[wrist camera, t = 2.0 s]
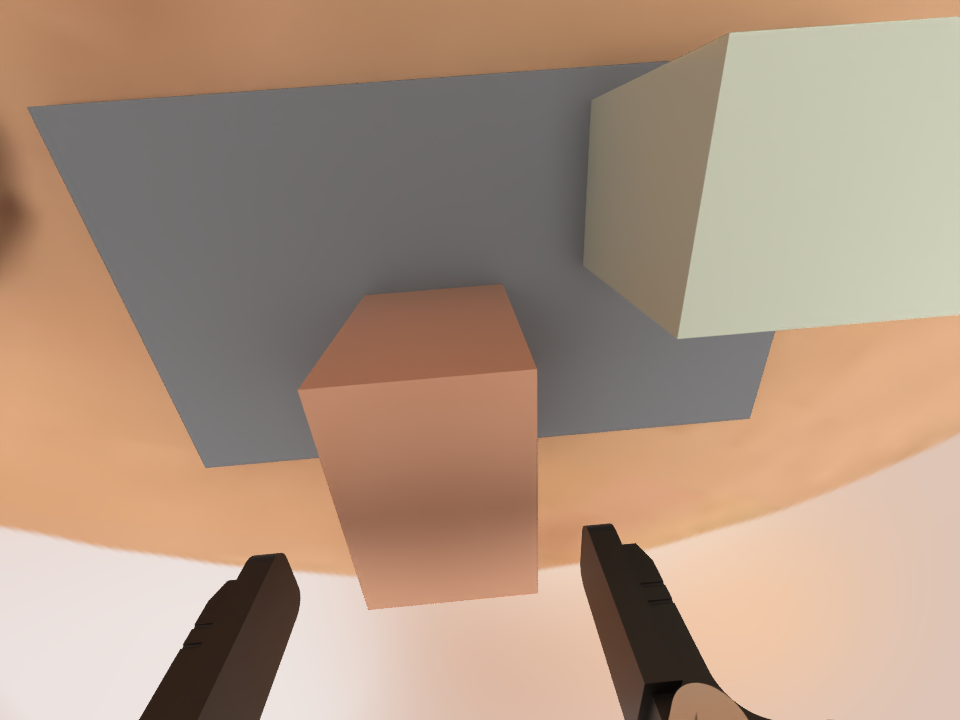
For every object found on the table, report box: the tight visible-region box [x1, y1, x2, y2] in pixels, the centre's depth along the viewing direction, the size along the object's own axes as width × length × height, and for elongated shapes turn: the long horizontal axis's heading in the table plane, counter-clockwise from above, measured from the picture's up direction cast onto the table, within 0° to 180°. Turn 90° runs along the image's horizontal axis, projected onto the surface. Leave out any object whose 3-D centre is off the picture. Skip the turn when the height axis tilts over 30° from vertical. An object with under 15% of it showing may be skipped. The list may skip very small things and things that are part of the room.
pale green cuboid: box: [583, 16, 960, 339], centre depth 12 cm, size 9×6×8 cm, turn 94°
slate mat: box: [27, 61, 775, 468], centre depth 18 cm, size 16×29×1 cm, turn 94°
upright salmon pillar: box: [298, 284, 538, 610], centre depth 15 cm, size 9×6×8 cm, turn 4°
